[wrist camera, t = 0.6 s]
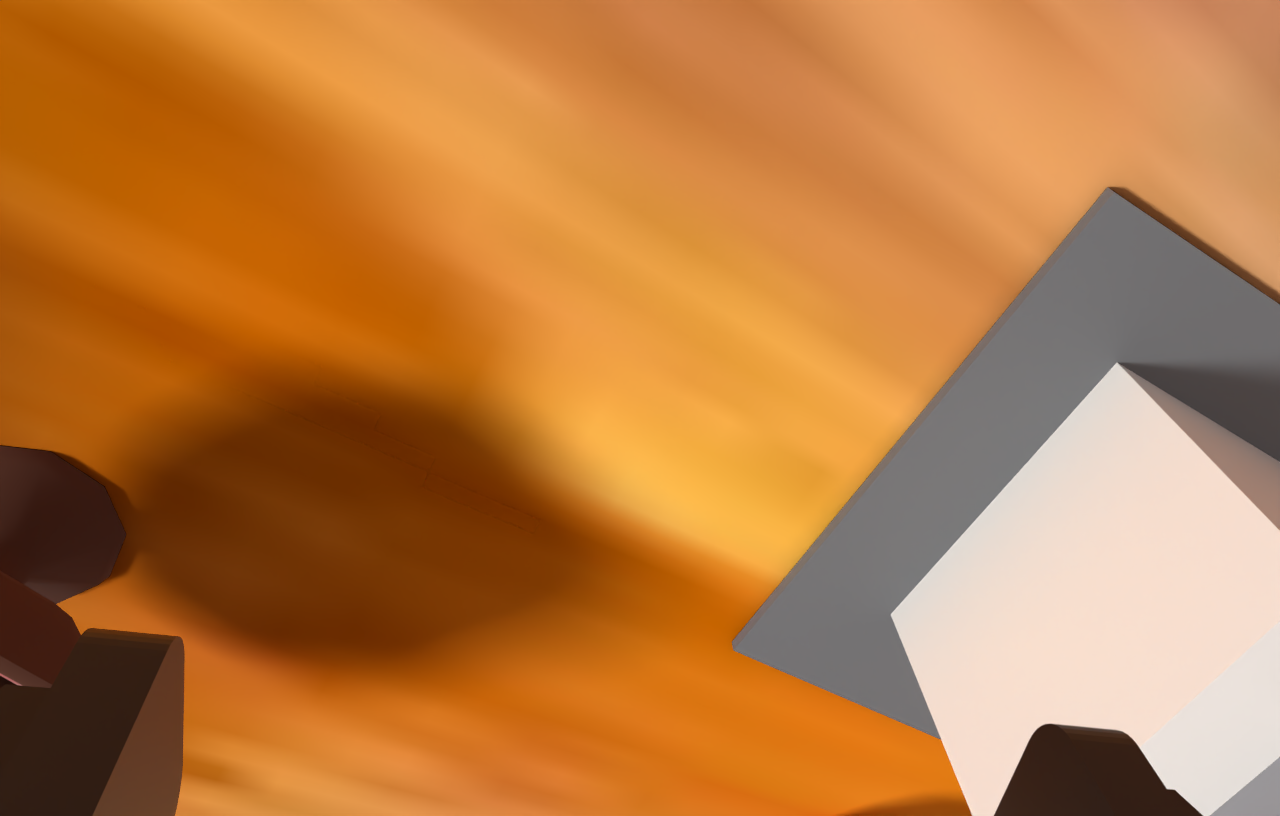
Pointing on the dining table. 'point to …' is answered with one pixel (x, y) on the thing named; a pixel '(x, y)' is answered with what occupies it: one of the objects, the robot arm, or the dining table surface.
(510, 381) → the dining table surface
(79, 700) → the robot arm
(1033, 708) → the cover
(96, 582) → the ice cream bowl
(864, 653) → the mat
